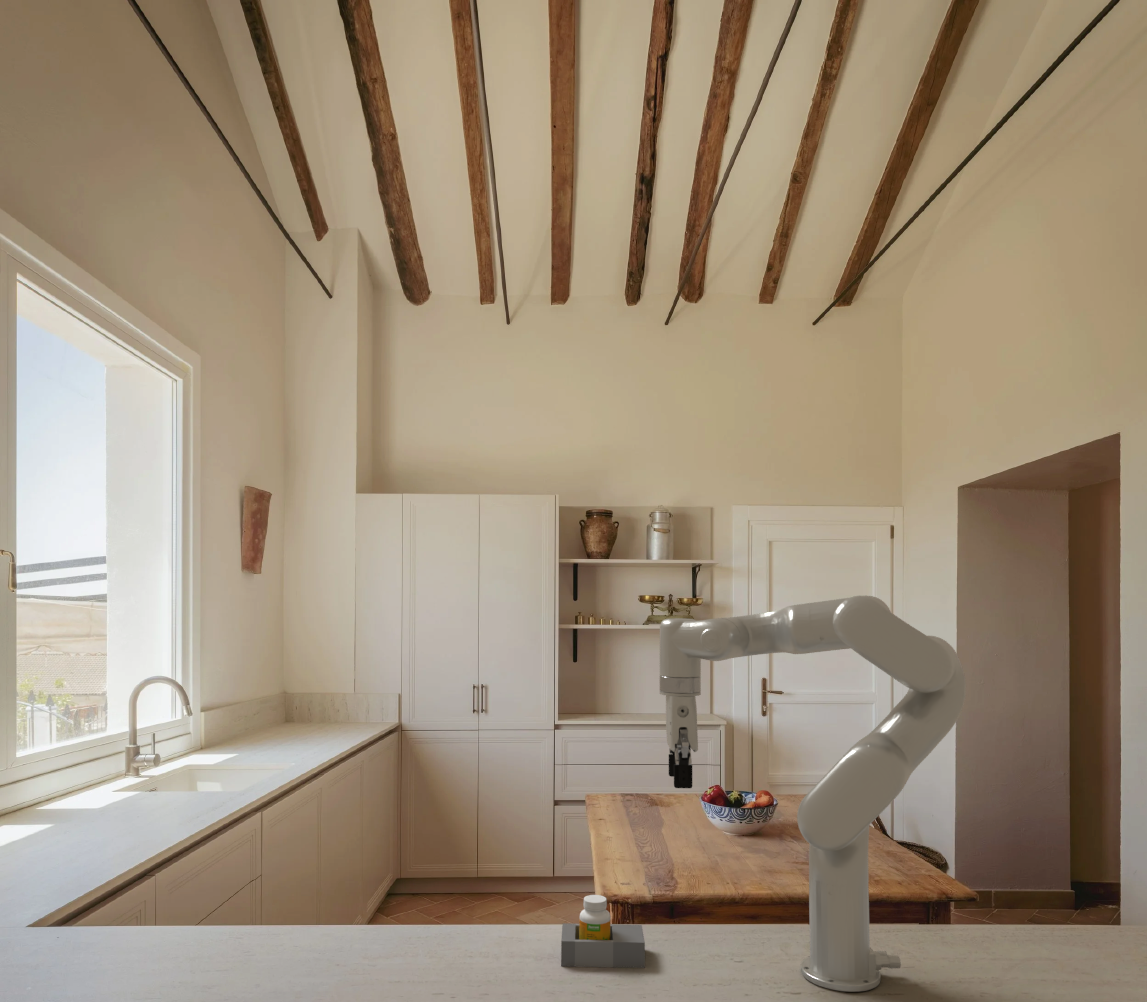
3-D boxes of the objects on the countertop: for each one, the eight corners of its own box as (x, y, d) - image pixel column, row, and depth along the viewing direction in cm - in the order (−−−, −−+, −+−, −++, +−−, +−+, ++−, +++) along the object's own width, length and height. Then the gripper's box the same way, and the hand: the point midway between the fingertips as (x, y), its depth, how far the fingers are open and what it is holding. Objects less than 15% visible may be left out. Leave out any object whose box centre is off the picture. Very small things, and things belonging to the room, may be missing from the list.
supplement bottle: (584, 965, 149) (584, 905, 150) (575, 952, 155) (575, 894, 156) (614, 962, 151) (614, 902, 152) (604, 949, 156) (605, 892, 157)
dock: (641, 948, 157) (641, 924, 157) (644, 967, 149) (644, 942, 149) (562, 947, 157) (562, 923, 157) (561, 966, 149) (561, 941, 149)
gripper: (707, 691, 154) (707, 793, 153) (694, 681, 172) (694, 772, 170) (663, 691, 155) (663, 792, 153) (655, 681, 172) (655, 772, 170)
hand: (680, 781), depth 161 cm, fingers open, 9 cm apart
